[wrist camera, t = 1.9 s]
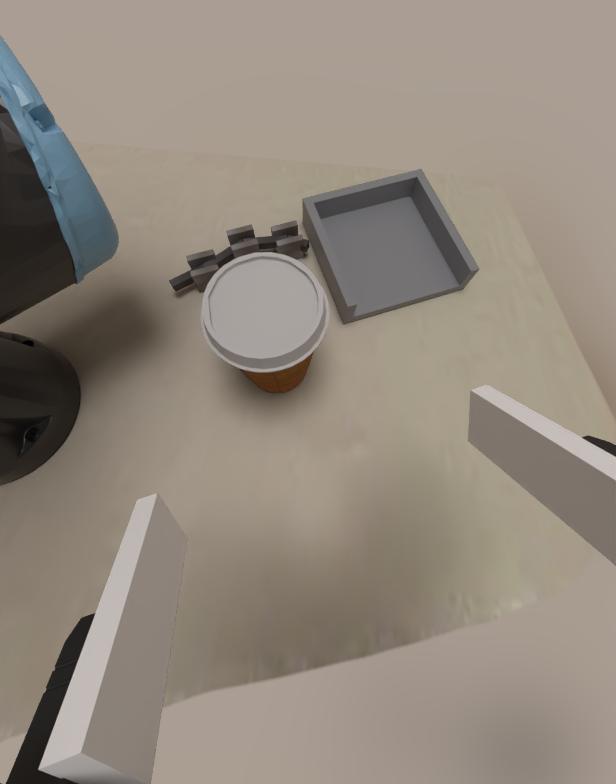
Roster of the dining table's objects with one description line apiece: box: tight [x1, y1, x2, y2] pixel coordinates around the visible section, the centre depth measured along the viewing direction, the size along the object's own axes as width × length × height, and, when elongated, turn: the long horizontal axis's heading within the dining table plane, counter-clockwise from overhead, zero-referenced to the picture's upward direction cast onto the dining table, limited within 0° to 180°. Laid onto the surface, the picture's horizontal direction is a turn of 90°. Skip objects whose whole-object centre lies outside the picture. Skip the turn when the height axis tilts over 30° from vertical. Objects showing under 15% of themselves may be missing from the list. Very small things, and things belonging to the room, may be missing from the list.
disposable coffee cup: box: [201, 252, 329, 393], centre depth 27 cm, size 10×10×12 cm
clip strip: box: [169, 221, 309, 292], centre depth 35 cm, size 16×5×3 cm, turn 108°
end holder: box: [303, 169, 479, 324], centre depth 35 cm, size 15×15×4 cm
